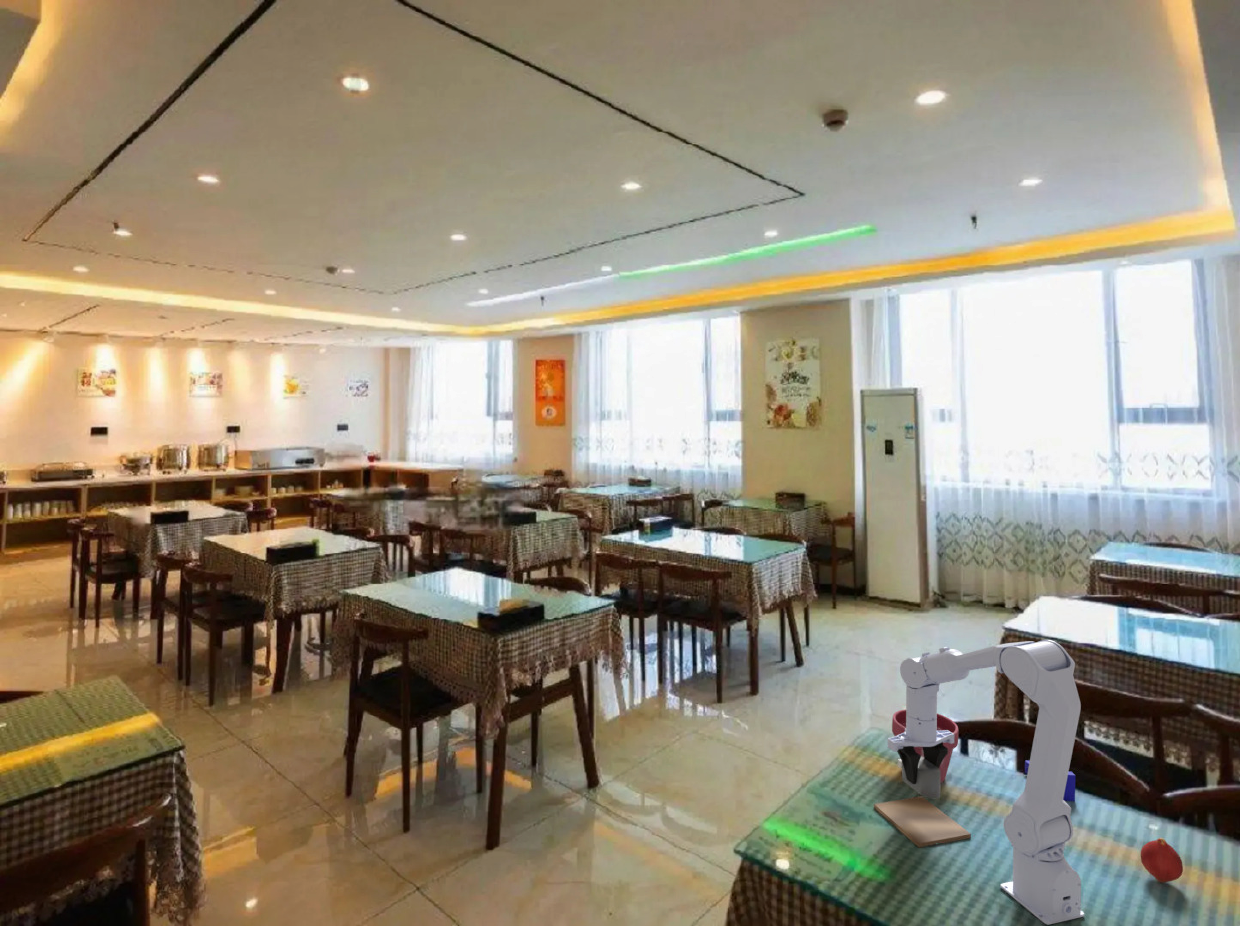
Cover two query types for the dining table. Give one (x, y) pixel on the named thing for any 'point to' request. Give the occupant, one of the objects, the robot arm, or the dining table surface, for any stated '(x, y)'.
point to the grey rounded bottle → (924, 779)
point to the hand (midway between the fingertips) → (920, 779)
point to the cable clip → (1070, 784)
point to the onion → (1161, 860)
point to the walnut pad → (921, 821)
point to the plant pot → (942, 724)
